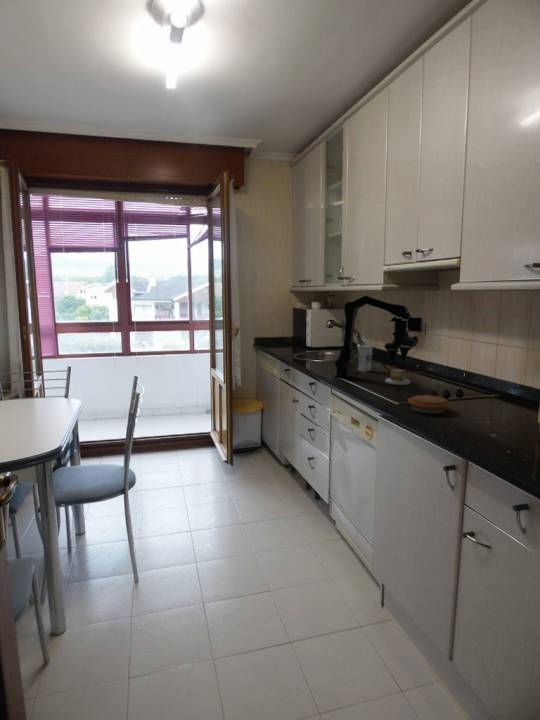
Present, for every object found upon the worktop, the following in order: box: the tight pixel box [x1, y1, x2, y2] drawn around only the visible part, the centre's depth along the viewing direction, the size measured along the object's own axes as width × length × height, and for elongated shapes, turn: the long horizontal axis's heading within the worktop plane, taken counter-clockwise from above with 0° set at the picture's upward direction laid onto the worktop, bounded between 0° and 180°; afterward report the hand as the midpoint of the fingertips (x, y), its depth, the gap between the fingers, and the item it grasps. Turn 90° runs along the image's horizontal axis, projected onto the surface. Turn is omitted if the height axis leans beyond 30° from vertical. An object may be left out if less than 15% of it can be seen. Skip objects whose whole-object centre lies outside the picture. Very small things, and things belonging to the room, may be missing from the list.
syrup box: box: [357, 344, 373, 373], centre depth 255 cm, size 6×6×14 cm
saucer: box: [384, 377, 411, 386], centre depth 224 cm, size 12×12×1 cm
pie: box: [407, 394, 451, 415], centre depth 172 cm, size 16×16×5 cm
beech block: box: [390, 368, 406, 381], centre depth 224 cm, size 5×5×5 cm
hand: (399, 362), depth 223 cm, fingers open, 9 cm apart
